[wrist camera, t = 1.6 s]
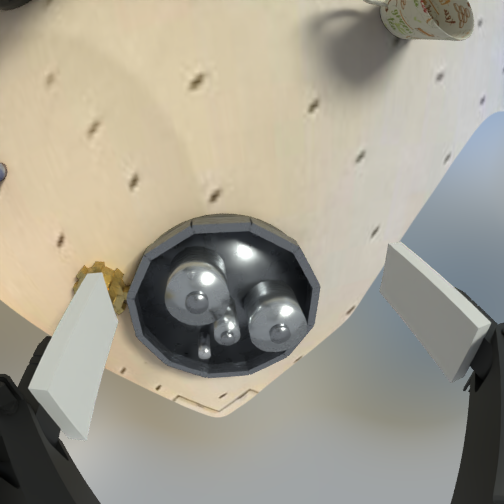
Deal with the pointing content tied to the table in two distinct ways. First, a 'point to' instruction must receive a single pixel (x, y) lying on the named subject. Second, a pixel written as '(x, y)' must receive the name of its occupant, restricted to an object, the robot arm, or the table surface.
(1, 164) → the flask
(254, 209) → the table surface
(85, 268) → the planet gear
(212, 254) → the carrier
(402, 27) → the mug
